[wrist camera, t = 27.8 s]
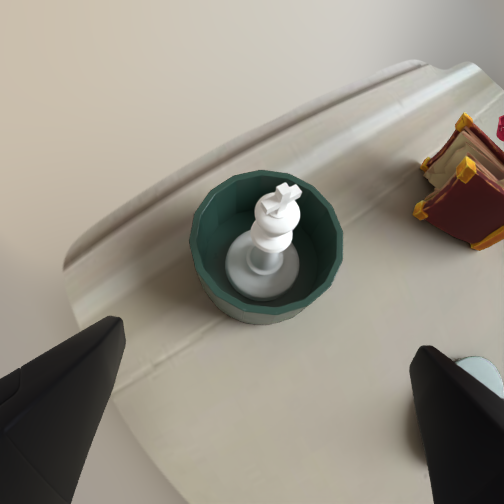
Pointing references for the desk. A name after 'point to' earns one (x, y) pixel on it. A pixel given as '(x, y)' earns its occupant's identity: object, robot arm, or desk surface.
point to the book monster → (467, 186)
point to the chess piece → (267, 248)
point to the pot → (241, 219)
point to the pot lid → (483, 373)
